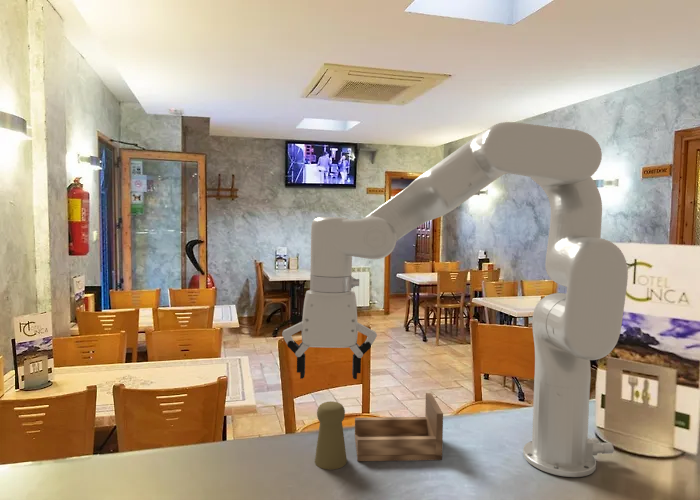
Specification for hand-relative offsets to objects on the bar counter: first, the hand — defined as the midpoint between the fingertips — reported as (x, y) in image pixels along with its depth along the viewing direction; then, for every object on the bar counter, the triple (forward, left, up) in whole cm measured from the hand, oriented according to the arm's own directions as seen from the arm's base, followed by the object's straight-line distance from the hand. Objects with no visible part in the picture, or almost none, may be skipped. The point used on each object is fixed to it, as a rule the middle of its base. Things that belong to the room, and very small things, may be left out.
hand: (328, 376), depth 89 cm
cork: (0, 0, -16) cm, 16 cm away
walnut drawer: (-13, -5, -16) cm, 22 cm away
